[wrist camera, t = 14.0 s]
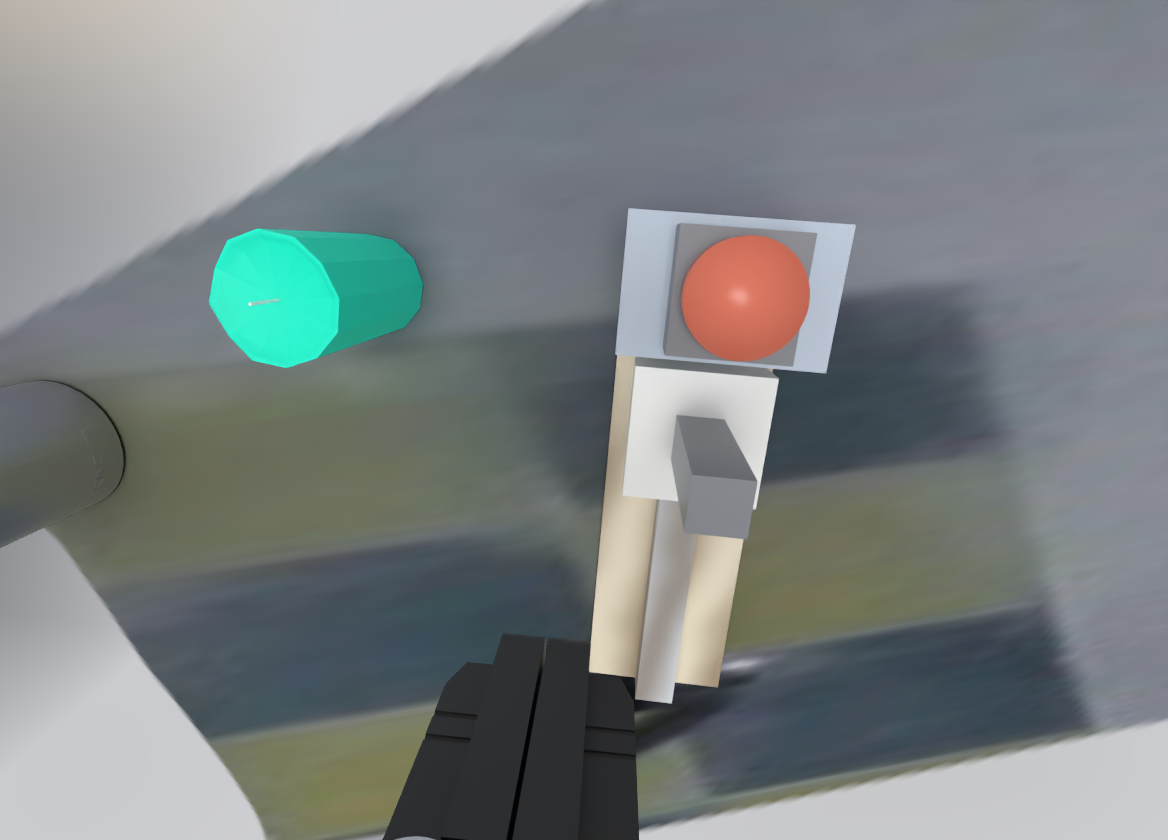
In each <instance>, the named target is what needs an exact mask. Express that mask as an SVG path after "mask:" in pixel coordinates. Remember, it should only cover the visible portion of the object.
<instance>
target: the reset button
mask: <svg viewBox="0 0 1168 840" xmlns="http://www.w3.org/2000/svg"><path fill="white" fill-rule="evenodd" d="M680 302H681V310H682V315H683V318H684V321H685V323H686V325H687V327H688V329H689V330H690V332H691V333H692V335H693V336H694V337H695V339H696V340H697V341H698V342H699V343H700V345H701V346H703V347H704V348H705V349H706V350H707V351H709V352H711V353H712V354H714V355H716V356H718V357H721V358H724V359H727V360H732V361H753V360H758V359H761V358H764V357H767V356H769V355H771V354H773V353H775V352H777V351H778V350H780V349H781V348H783V347H784V346H785V345H786V344H787V343H789V342H790V341H791V340H792V338H793V337H794V336H795V335H796V334H797V332H798V331H799V329H800V328H801V326H802V324H803V322H804V320H805V317H806V315H807V312H808V308H809V302H810V286H809V280H808V277H807V273H806V271H805V269H804V266H803V265H802V263H801V261H800V260H799V258H798V257H797V256H796V255H795V254H794V253H793V252H792V251H791V250H790V249H789V248H788V247H786V246H785V245H783V244H782V243H780V242H778V241H776V240H774V239H771V238H767V237H763V236H756V235H747V236H738V237H731V238H728V239H724V240H722V241H719V242H717V243H715V244H713V245H711V246H710V247H708V248H707V249H706V250H704V251H703V252H702V253H701V254H700V255H699V256H698V257H697V258H696V259H695V261H694V262H693V263H692V264H691V266H690V268H689V269H688V271H687V273H686V275H685V278H684V281H683V284H682V289H681V298H680Z"/></svg>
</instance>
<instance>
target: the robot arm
mask: <svg viewBox="0 0 1168 840" xmlns="http://www.w3.org/2000/svg"><path fill="white" fill-rule="evenodd" d="M123 465H124V462H123V450H122V447H121V443H120V440H119V437H118V435H117V433H116V431H115V429H114V427H113V425H112V423H111V422H110V421H109V419H108V418H107V416H106V415H105V414H104V412H103V411H102V410H101V409H100V408H99V407H98V406H97V405H96V404H95V403H94V402H93V401H91V400H90V399H89V398H87V397H86V396H85V395H83V394H82V393H80V392H79V391H77V390H75V389H73V388H71V387H69V386H66V385H63V384H60V383H56V382H52V381H40V380H39V381H32V382H26V383H21V384H17V385H12V386H8V387H3V388H0V548H2V547H4V546H6V545H8V544H10V543H12V542H14V541H17V540H19V539H21V538H23V537H25V536H27V535H29V534H31V533H34V532H36V531H38V530H40V529H42V528H44V527H47V526H49V525H51V524H53V523H55V522H57V521H60V520H62V519H64V518H66V517H68V516H70V515H72V514H74V513H76V512H79V511H81V510H83V509H85V508H87V507H89V506H91V505H93V504H95V503H98V502H100V501H102V500H103V499H105V498H106V497H107V496H109V495H110V494H111V493H112V492H113V491H114V490H115V488H116V487H117V486H118V483H119V481H120V479H121V477H122V471H123ZM590 650H591V641H581V640H570V639H560V638H550V637H549V640H548V645H547V650H546V637H538V636H527V635H517V634H507V633H504V634H503V635H502V638H501V641H500V644H499V647H498V650H497V654H496V657H495V660H494V664H493V665H490V664H480V663H470V662H467V663H466V664H465V665H464V666H463V667H462V668H461V669H460V670H459V671H458V672H457V673H456V674H455V675H454V676H453V677H452V678H451V679H450V680H449V681H448V682H447V683H446V685H445V687H444V690H443V692H442V694H441V697H440V699H439V702H438V704H437V707H436V709H435V714H434V716H433V717H432V719H431V722H430V724H429V727H428V729H427V732H426V736H425V740H424V739H423V742H422V744H421V747H420V749H419V752H418V754H417V756H416V759H415V761H414V764H413V766H412V769H411V771H410V774H409V776H408V779H407V781H406V784H405V786H404V789H403V791H402V794H401V796H400V799H399V801H398V804H397V806H396V809H395V811H394V814H393V816H392V819H391V821H390V823H389V826H388V828H387V831H386V833H385V835H384V837H383V839H382V840H639V826H638V800H637V774H636V748H635V721H634V702H633V700H632V698H631V696H630V694H629V693H628V691H627V689H626V687H625V685H624V683H623V682H622V680H621V678H620V677H613V676H603V675H593V674H589V665H590ZM545 653H546V656H545Z"/></svg>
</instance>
